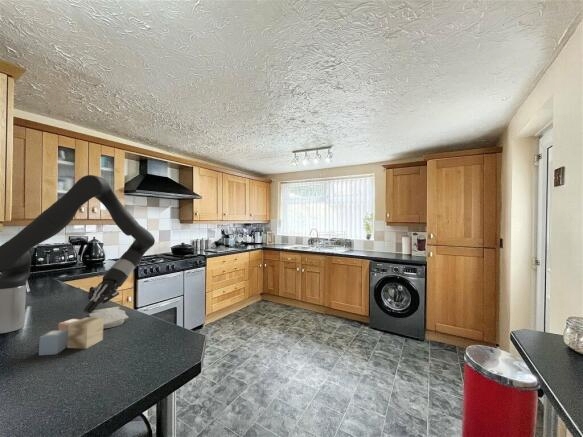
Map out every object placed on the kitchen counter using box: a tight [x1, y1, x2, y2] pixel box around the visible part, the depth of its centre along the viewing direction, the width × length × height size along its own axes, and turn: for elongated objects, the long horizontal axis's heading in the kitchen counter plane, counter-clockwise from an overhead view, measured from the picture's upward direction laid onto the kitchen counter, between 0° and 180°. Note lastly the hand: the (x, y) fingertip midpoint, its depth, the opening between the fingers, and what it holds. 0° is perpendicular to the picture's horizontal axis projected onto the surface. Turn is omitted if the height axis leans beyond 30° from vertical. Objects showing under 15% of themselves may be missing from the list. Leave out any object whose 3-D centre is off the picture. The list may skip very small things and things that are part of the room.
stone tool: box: [88, 306, 129, 330], centre depth 113 cm, size 13×4×25 cm
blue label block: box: [38, 329, 68, 356], centre depth 85 cm, size 5×5×6 cm
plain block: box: [66, 316, 104, 350], centre depth 90 cm, size 7×7×8 cm
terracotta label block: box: [57, 318, 81, 342], centre depth 95 cm, size 5×5×6 cm
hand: (86, 312), depth 91 cm, fingers closed
